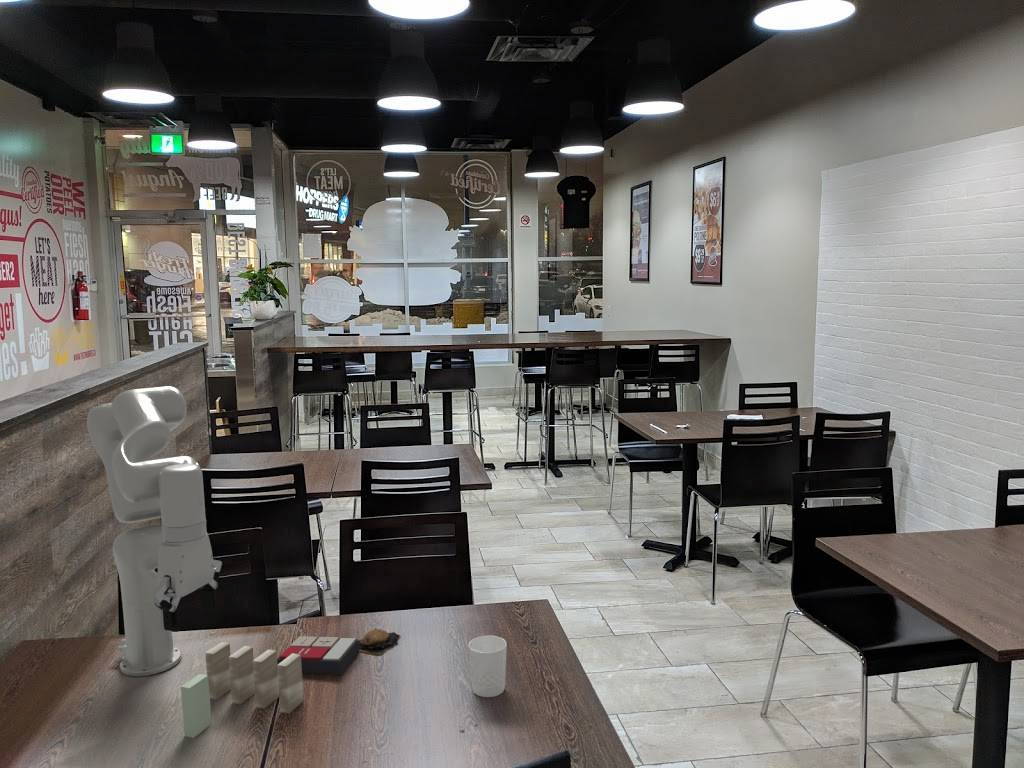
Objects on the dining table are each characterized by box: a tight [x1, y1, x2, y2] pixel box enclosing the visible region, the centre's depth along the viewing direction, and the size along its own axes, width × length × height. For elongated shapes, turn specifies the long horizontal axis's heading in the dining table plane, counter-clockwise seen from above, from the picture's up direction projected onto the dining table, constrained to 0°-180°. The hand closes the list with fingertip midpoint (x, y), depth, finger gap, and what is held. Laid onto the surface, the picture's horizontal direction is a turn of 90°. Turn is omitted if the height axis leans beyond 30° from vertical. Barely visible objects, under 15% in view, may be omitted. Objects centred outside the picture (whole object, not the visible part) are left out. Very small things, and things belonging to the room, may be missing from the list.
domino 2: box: [205, 641, 231, 701], centre depth 162 cm, size 2×5×10 cm, turn 161°
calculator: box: [277, 635, 360, 677], centre depth 175 cm, size 11×4×15 cm
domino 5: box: [278, 653, 304, 715], centre depth 156 cm, size 2×5×10 cm, turn 161°
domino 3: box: [229, 645, 255, 705], centre depth 160 cm, size 2×5×10 cm, turn 161°
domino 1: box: [180, 673, 213, 739], centre depth 148 cm, size 2×5×10 cm, turn 161°
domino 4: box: [253, 649, 279, 710], centre depth 158 cm, size 2×5×10 cm, turn 161°
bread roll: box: [358, 628, 402, 657], centre depth 183 cm, size 11×8×4 cm
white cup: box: [468, 635, 508, 698], centre depth 161 cm, size 8×8×10 cm
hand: (191, 619), depth 146 cm, fingers open, 9 cm apart
